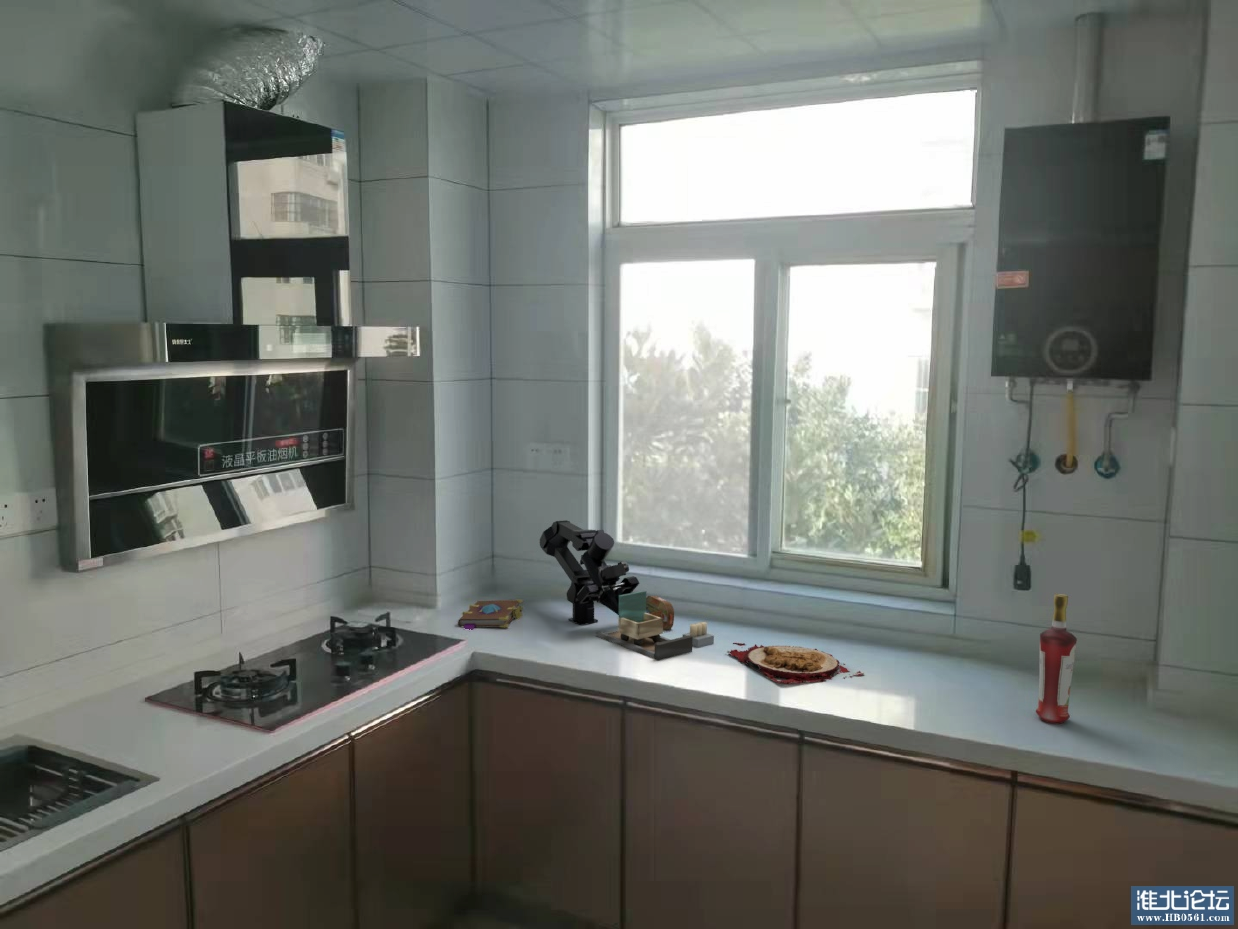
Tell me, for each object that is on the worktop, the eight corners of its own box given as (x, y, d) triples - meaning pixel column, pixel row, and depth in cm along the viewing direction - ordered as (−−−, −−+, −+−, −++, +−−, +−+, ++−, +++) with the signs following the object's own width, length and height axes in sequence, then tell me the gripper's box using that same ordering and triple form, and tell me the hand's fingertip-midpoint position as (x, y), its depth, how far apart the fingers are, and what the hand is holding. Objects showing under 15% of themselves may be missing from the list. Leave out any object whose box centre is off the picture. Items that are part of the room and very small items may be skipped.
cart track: (595, 638, 263) (595, 621, 262) (628, 631, 270) (628, 614, 270) (658, 663, 243) (658, 645, 242) (692, 654, 250) (692, 636, 250)
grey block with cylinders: (682, 645, 258) (682, 623, 258) (698, 641, 262) (698, 619, 261) (697, 650, 254) (698, 628, 253) (713, 646, 258) (714, 624, 257)
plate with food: (781, 691, 227) (782, 676, 226) (726, 655, 251) (727, 642, 250) (865, 680, 236) (866, 666, 236) (805, 646, 261) (806, 634, 260)
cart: (618, 641, 257) (618, 595, 256) (643, 635, 263) (644, 590, 262) (637, 648, 251) (638, 601, 250) (662, 642, 257) (663, 596, 255)
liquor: (1039, 710, 215) (1048, 589, 211) (1074, 719, 210) (1083, 595, 207) (1029, 720, 209) (1038, 596, 206) (1065, 728, 204) (1074, 602, 201)
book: (452, 635, 268) (451, 618, 267) (476, 611, 292) (475, 596, 292) (509, 635, 266) (508, 618, 265) (528, 611, 290) (527, 595, 290)
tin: (642, 620, 281) (642, 592, 280) (651, 619, 283) (652, 591, 282) (665, 634, 268) (666, 605, 267) (675, 633, 269) (676, 604, 268)
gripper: (583, 556, 259) (608, 604, 252) (635, 548, 271) (661, 594, 263) (566, 579, 266) (590, 626, 259) (617, 570, 278) (641, 615, 270)
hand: (621, 615), depth 263 cm, fingers closed
